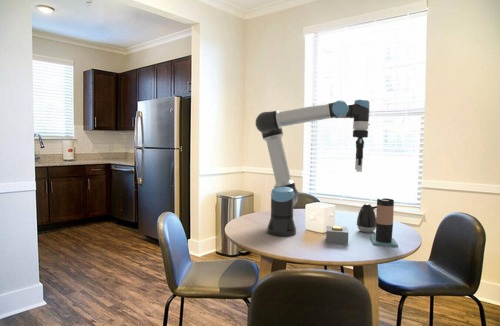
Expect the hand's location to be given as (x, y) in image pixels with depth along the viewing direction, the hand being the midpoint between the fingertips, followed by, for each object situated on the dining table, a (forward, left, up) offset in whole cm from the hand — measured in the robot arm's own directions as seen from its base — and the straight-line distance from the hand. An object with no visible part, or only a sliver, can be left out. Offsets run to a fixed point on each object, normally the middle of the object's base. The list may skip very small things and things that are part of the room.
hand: (358, 170), depth 182 cm
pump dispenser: (+6, +4, -33) cm, 34 cm away
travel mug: (+12, -15, -32) cm, 37 cm away
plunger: (-10, -19, -32) cm, 39 cm away
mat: (+12, -15, -33) cm, 38 cm away
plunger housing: (-10, -19, -33) cm, 39 cm away
